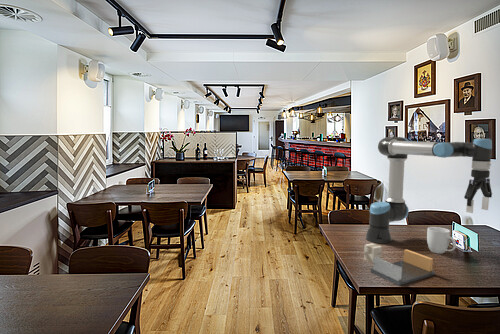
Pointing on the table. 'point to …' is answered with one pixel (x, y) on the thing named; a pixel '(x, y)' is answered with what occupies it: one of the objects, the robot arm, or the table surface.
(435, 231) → the mug
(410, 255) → the bar
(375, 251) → the block
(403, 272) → the base
